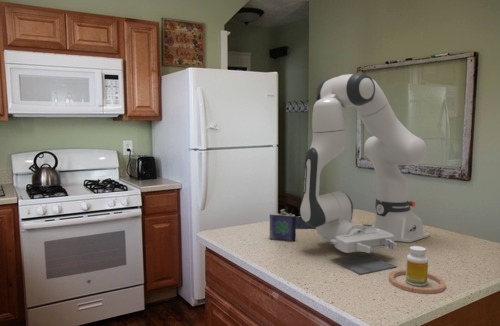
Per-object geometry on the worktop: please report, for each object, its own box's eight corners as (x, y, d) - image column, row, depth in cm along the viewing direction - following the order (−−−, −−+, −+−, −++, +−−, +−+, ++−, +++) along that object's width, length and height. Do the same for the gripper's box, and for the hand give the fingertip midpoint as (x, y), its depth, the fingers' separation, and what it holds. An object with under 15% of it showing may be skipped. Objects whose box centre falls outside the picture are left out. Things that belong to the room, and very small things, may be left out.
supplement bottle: (429, 287, 107) (430, 251, 106) (407, 285, 108) (409, 250, 107) (424, 279, 113) (426, 245, 112) (404, 278, 114) (405, 244, 113)
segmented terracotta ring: (414, 270, 120) (414, 266, 120) (457, 287, 107) (457, 283, 107) (377, 277, 114) (377, 274, 114) (418, 297, 101) (419, 293, 101)
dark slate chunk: (275, 221, 181) (275, 211, 180) (324, 221, 182) (324, 210, 181) (279, 230, 165) (279, 219, 165) (332, 229, 167) (333, 218, 166)
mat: (368, 255, 133) (368, 254, 133) (396, 267, 122) (396, 266, 122) (334, 262, 127) (334, 260, 127) (360, 274, 116) (360, 273, 116)
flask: (268, 239, 151) (269, 209, 150) (270, 237, 154) (271, 207, 153) (294, 242, 148) (295, 211, 147) (296, 239, 151) (297, 209, 149)
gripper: (326, 230, 128) (356, 241, 116) (375, 224, 137) (408, 234, 125) (326, 249, 128) (355, 263, 116) (374, 242, 137) (407, 254, 125)
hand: (383, 248), depth 120 cm, fingers open, 8 cm apart
